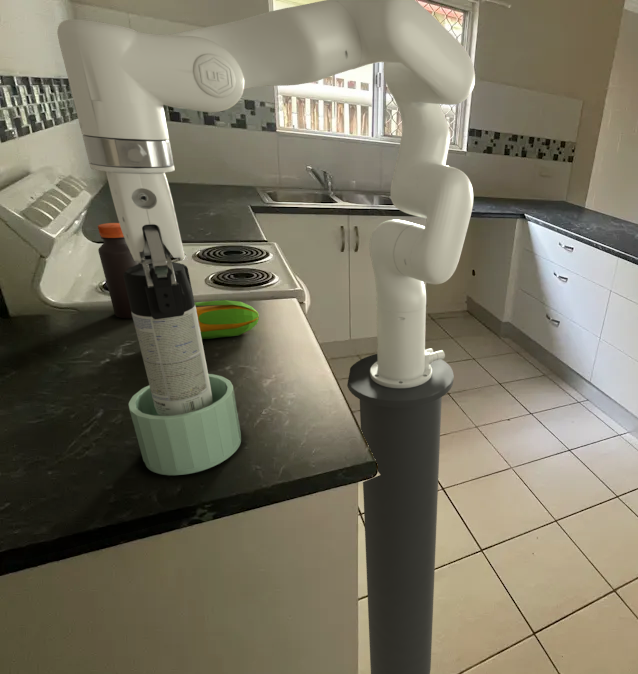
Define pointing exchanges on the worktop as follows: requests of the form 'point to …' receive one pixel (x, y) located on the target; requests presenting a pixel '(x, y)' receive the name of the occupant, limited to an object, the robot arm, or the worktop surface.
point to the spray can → (170, 347)
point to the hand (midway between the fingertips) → (163, 305)
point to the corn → (225, 318)
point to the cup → (187, 432)
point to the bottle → (116, 266)
